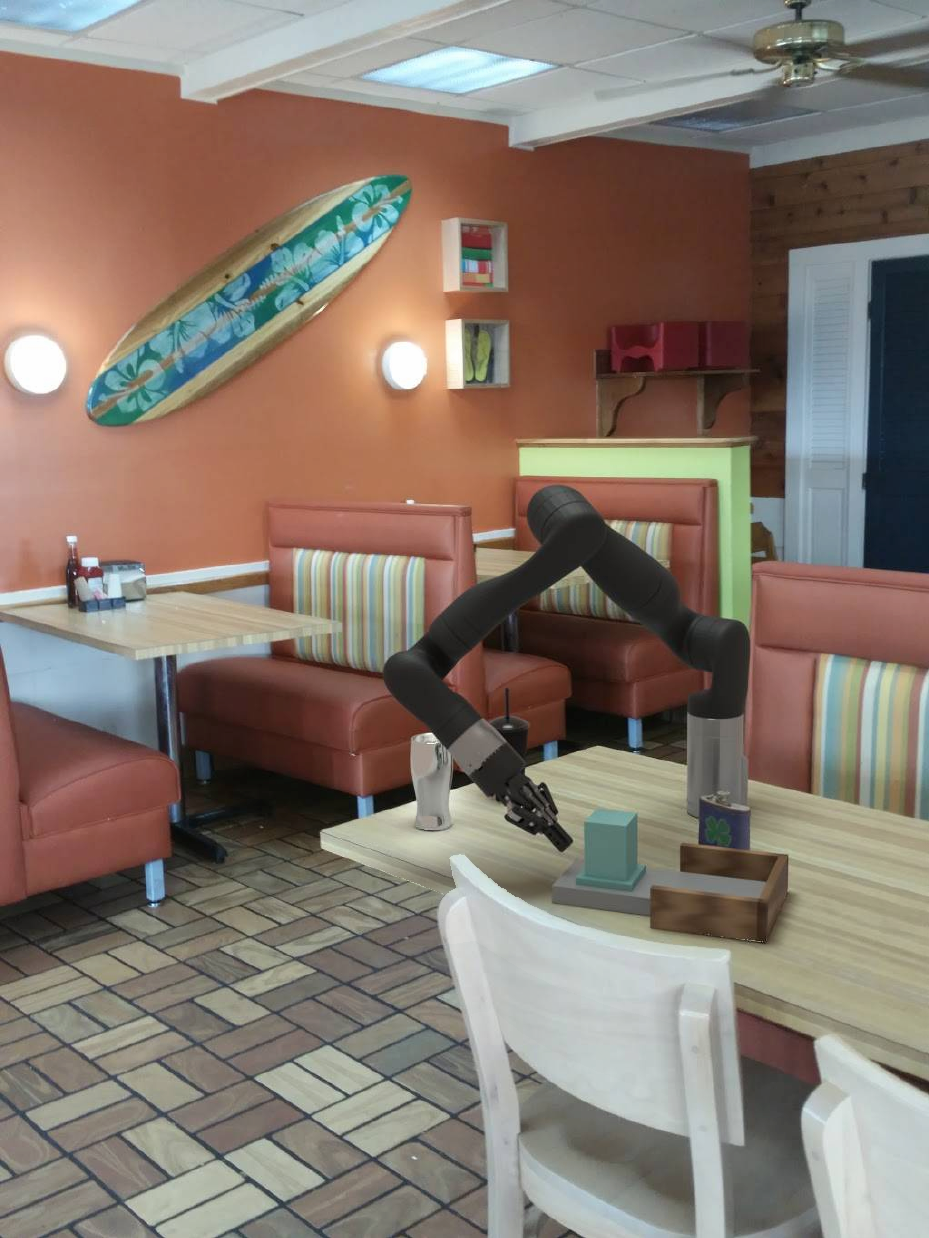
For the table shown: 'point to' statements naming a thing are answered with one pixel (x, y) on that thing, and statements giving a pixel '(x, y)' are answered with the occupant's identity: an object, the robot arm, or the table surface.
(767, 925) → the box
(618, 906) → the board
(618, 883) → the teal block
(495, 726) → the drinking cup
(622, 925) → the table surface
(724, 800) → the flask
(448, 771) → the beer glass
